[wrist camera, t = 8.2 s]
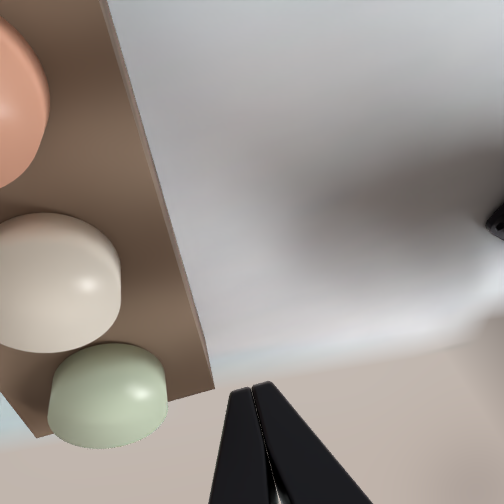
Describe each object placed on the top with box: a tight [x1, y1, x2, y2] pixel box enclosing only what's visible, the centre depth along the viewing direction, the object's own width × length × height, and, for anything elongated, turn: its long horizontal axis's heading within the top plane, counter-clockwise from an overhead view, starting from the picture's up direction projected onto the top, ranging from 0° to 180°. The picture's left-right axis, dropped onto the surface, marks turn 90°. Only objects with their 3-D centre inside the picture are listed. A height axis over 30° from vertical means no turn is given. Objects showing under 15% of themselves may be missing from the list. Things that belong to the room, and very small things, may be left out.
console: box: [0, 0, 215, 438], centre depth 16 cm, size 17×8×3 cm, turn 7°
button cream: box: [0, 213, 121, 353], centre depth 15 cm, size 4×4×2 cm
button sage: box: [47, 343, 168, 449], centre depth 18 cm, size 4×4×2 cm
